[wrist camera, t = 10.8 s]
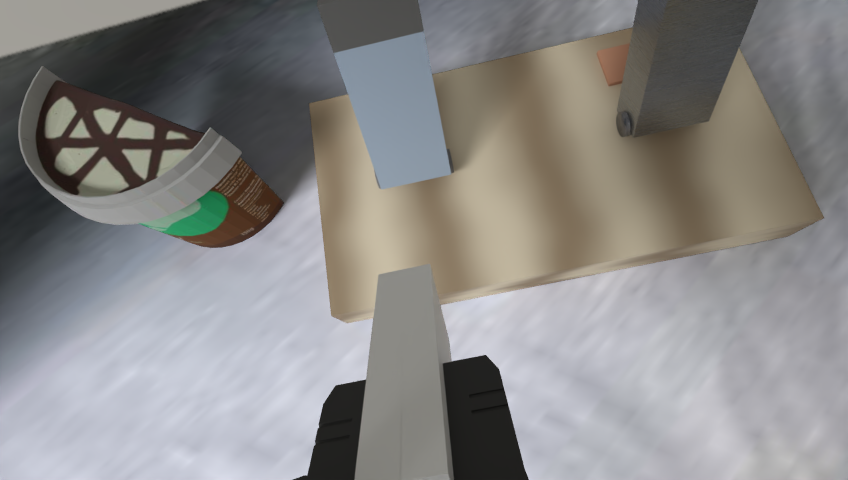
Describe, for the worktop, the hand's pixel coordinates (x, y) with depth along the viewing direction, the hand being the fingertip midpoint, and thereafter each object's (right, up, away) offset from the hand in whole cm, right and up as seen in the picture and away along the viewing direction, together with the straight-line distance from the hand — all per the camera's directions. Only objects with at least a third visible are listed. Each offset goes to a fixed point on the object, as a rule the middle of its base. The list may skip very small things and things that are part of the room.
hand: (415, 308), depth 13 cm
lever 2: (+14, +8, +12) cm, 20 cm away
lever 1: (0, +6, +13) cm, 15 cm away
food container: (-15, +3, +18) cm, 24 cm away
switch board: (+7, +6, +16) cm, 18 cm away
